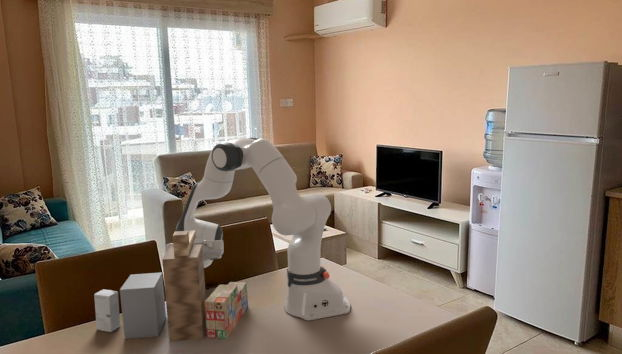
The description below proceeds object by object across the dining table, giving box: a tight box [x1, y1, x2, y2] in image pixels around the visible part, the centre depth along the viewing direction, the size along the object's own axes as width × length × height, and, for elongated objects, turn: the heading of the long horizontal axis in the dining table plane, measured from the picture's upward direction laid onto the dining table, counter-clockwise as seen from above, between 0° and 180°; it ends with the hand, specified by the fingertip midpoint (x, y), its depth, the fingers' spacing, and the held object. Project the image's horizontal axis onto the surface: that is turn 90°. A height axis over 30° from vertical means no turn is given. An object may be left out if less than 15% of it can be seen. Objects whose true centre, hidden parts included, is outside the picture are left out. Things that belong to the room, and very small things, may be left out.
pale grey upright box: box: [119, 271, 167, 340], centre depth 141 cm, size 10×12×16 cm
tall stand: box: [162, 244, 207, 343], centre depth 138 cm, size 10×12×26 cm
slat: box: [172, 230, 196, 256], centre depth 140 cm, size 4×18×6 cm, turn 7°
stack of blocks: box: [205, 281, 249, 340], centre depth 145 cm, size 21×6×12 cm, turn 170°
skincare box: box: [93, 288, 121, 333], centre depth 142 cm, size 6×4×12 cm
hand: (192, 243), depth 154 cm, fingers open, 8 cm apart
